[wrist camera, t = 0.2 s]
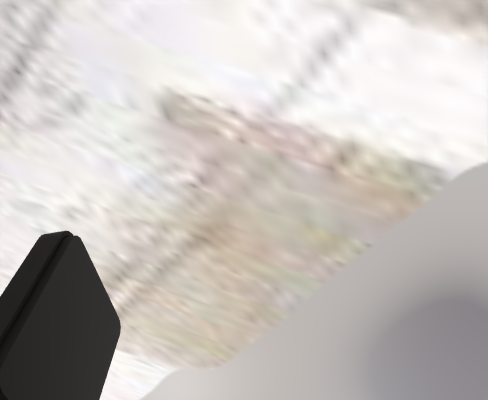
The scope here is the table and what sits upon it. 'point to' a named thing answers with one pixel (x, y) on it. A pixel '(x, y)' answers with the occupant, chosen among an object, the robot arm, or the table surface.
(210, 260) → the table surface
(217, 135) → the table surface
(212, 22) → the table surface
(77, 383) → the robot arm
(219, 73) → the table surface
